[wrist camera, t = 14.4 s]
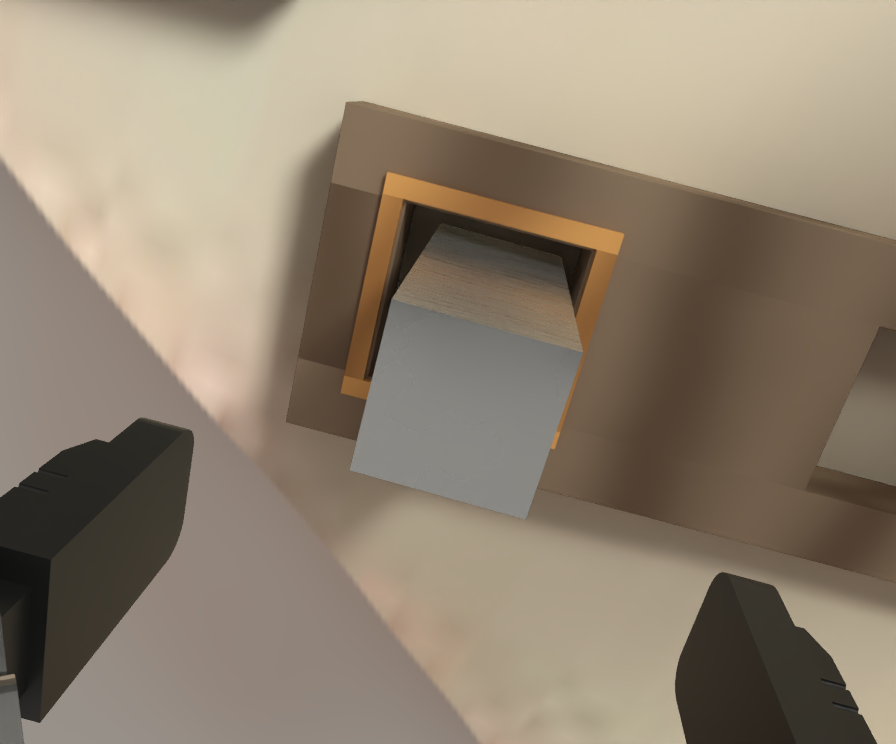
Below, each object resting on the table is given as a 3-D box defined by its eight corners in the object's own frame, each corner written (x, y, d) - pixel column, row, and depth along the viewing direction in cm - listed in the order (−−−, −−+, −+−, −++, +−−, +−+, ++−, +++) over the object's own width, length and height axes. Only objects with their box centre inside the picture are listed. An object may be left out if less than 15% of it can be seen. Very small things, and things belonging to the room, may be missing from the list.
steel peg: (561, 256, 25) (582, 353, 16) (525, 369, 27) (525, 519, 17) (441, 222, 25) (391, 298, 16) (411, 337, 27) (349, 470, 17)
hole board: (1122, 299, 24) (1192, 324, 21) (970, 568, 27) (1015, 617, 25) (363, 101, 24) (344, 102, 22) (306, 394, 28) (284, 424, 25)
